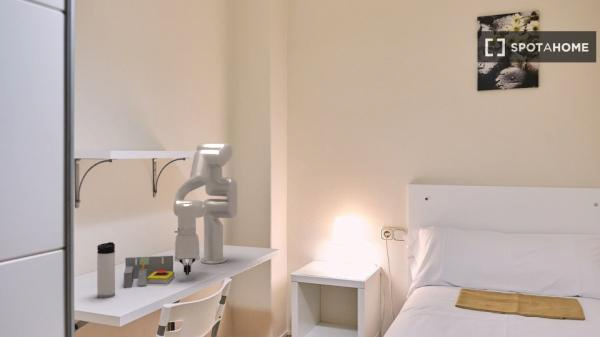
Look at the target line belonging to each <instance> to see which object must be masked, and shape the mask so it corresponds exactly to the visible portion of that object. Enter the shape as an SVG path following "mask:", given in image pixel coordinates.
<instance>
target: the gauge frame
mask: <svg viewBox="0 0 600 337" xmlns="http://www.w3.org/2000/svg"><path fill="white" fill-rule="evenodd" d="M124 260H125V268H124V272H123V288H124V289H125V288H132V287H133V284H134V280H135V279H138V274H139V269H140V268H142V261H144V268H147V277H148V276H150V275H151V274H152V273H154V272H155V271H161V270H164V271H169V272H174V255H157V256H156V255H155V256H154V255H152V256H134V257H133V256H132V257H125V259H124Z"/></svg>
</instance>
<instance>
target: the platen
mask: <svg viewBox="0 0 600 337" xmlns="http://www.w3.org/2000/svg"><path fill="white" fill-rule="evenodd" d="M137 279H138V280H137V281H138V282H137V283H138V287H139V286H141V287H142V286H143V287H144V286H145V285H146V283H147V268H144V261H142V268H140V269H139V274H138V278H137Z"/></svg>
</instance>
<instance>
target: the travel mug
mask: <svg viewBox="0 0 600 337" xmlns="http://www.w3.org/2000/svg"><path fill="white" fill-rule="evenodd" d="M96 247H97V251H96V253H97V254H96V255H97V256H96V257H97V260H96V261H97V263H96V264H97V271H96V274H97V279H96V280H97V282H96V283H97V287H96V288H97V289H96V290H97V293H96V294H97V298H101V299H106V298H108V299H109V298H112V297H114V296H115V295H116V251H115V250H116V244H115V243H114V242H112V241H109V242H106V243H101V244H98V245H97V246H96Z"/></svg>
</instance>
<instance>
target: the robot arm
mask: <svg viewBox="0 0 600 337" xmlns="http://www.w3.org/2000/svg"><path fill="white" fill-rule="evenodd" d="M232 156H233V147H232V145H231V144H229V143H228V142H202V143H200V144H198V145H197V147H196V152H194V154H193V160H192V164H191V170H190V174H189V178H188V179H186V180H185V182H183V184H181V186H180V187H179V188H178V189H177V191H176V193H175V196H174V197H175V198H174V202H173V208H172V209H173V213H174V215H175V216H176V217H177V229H176V228H175V229H174V234H177V235H175V242H174V258H173V262H174V261H175V262H178V263H180V264H182V265H183V273H185V276H187V275H188V276H189V275H190V273H191V272H192V264H193V263H195V262H196V261H199V260H200V262H201V263H202V264H210V265H211V264H212V265H213V264H214V265H217V264H223V263H225V262H226V261H227V258H226V257H224V225H223V222H222V221H221V220H220V219H234V218H236V217H237V215H238V183H237V181H236V179H235V178H234V177H227V176H226V177H225V176H223V167H224V166H226V165H227V164H228V162H229V161H230V160H231V158H232ZM204 186H205V189H204V190H205V193H206V195H207V196H211V197H226V198H207V199H206V200H204V201H202V200H196V199H195V200H192V199H191V200H190V199H189V200H188V199H185V198H186V196H187V195H188V194H189V193H191V192H193V191H195V190H196V189H199V188H202V187H204ZM197 218H203V257H202V258H201V257H200V241H199V235H198V234H197ZM187 260H188V261H187ZM186 261H187V262H188V263H187V262H186Z"/></svg>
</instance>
